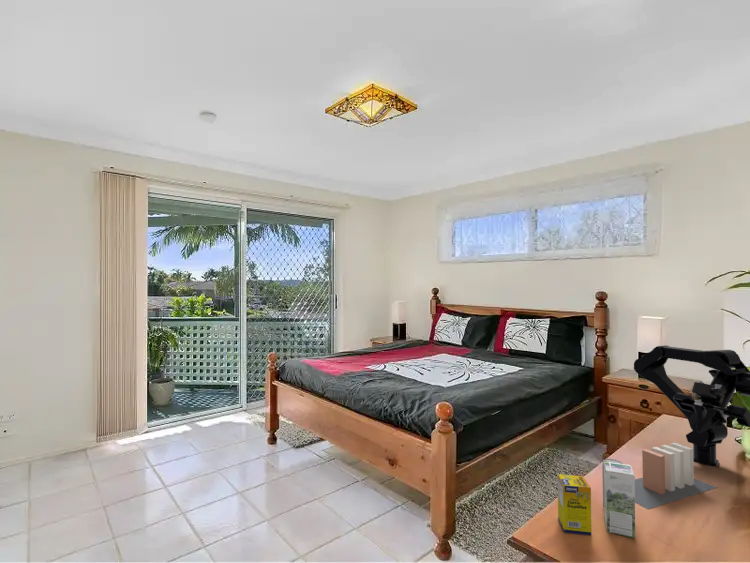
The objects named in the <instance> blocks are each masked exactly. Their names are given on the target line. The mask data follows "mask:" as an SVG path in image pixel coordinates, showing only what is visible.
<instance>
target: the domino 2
mask: <svg viewBox="0 0 750 563" xmlns="http://www.w3.org/2000/svg"><path fill="white" fill-rule="evenodd" d="M661 449H663V450H666V451H669V452H672V453H674V458H675V486H676V487H678V488H680V489H681V488H685V482H684V451H682V450H679V449H676V448H674V447H671V445H667V444H662V445H661Z"/></svg>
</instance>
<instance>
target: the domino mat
mask: <svg viewBox="0 0 750 563" xmlns="http://www.w3.org/2000/svg"><path fill="white" fill-rule="evenodd" d="M715 489H718V487H717V486H714V485H712V484H709V483H707V482H705V481H702V480H700V479H696V478H694V485H692V486H689V485H687V484H685V488H681V489H680V488H678V487H676V486H675V491H669V490H667V489H665V494H659V493H657V492H655V491H653V490H650V489H648V488H646V487H644V486H643V476H642V477H639V478H635V504H637V505H638V506H640V507H642V508H645V509H646V510H651V509H654V508H658V507H659V506H663V505H666V504H670V503H672V502H676V501H680V500H682V499H683V500H684V499H686V498H688V497H689V498H690V497H692V496H693V497H694V496H696V495H699V494H701V493H705V492H708V491H711V490H715Z"/></svg>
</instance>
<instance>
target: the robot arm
mask: <svg viewBox="0 0 750 563" xmlns="http://www.w3.org/2000/svg"><path fill="white" fill-rule="evenodd" d="M669 359H671V360H678V361H684V362H691V363H698V364H701V365H702V366H704V367H707V368H710V369H709V370H708V373H709V375H710V376H711V377H712V378H713V379H712V380H711V382H710V384H707V383H702V382H698V381H693V382H694V383H693V386H692V390H691V393H694V394H695V395H696V397H697V399H694V398H693V396H691V395H690V394H686V393H685V392H684V391H683V390H682V389H681V388H680V387H679V386H678V385H677V384H676V383H674V381H673V380H672V379H671V378H670V377H669V376H668V375H667V372H666V369H665V367H664V365H665V364H666V363H667V361H668V360H669ZM633 370H634V371H635V373H636V374H638V375H639V376H640V377H642V378H643V379H644V380H646V381H649V383H652V384H654V385H655V387H657V388H658V389H659V390H660V392H662V394H664V395H665V397H666V398H668V400H669V401H670V402H671V403H672V404H673V405H674V406H675V407H676V408H677V409H678V410H679V411H680V412H681V414H682V415H684V416H685V418H686V419H687V421H688V424H689V427H690V429H691V431H690V432H688V433H687V434H686V435H685V438H686V440H687V442H688V443H689V444H692V449H693V463H696V464H697V463H698V464H701V465H705V466H710V467H716V468H717V467H719V463H720V462H719V461H720V460H719V459H717V445H718V444H722V443H723V440H725V439H726V438H727V437H728V433H729V431H728V427H727V425H725V424H727V423H728V421H727V418H729V417H732V418H736V422H737V423H738V425H740V426H744V427H747V428H750V411H749V410H748V408H747V407H743V406H739V405H736V404H733V402H734V399H733V398H732V397H733V395H734V393H735V392H737V393H739V394H740V395H741V396H746V397H750V369H749V368H748V367H747V366H746V365H745V363H743V361H742V360H741V358H740V356H739V354H738V353H737V352H736V351H735V350H733V349H732V350H731V349H717V350H716V349H714V350H700V349H695V348H685V347H677V346H670V345H657V346H655V347H654V348H653V349H652V350H651V351H649V352H648V353H646V354H644V355H642V356H641V357H640V358H637V359H636V360H634V362H633ZM730 403H731V404H730Z"/></svg>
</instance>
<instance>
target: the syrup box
mask: <svg viewBox="0 0 750 563" xmlns="http://www.w3.org/2000/svg"><path fill="white" fill-rule="evenodd" d="M635 479H636V476H635V473H634V470H633V468H632V465H630V464H624V463H623V464H620V463H613V462H606V461H604V507H603V509H604V513H603V514H604V518H603V519H604V523H605V529H606V533H610V534H614V535H619V536H624V537H627V538H632V539H635V538H636V503H635Z"/></svg>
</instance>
